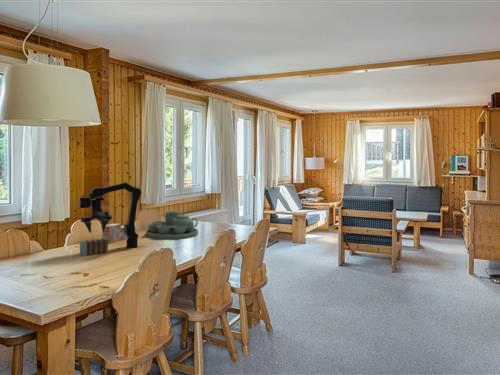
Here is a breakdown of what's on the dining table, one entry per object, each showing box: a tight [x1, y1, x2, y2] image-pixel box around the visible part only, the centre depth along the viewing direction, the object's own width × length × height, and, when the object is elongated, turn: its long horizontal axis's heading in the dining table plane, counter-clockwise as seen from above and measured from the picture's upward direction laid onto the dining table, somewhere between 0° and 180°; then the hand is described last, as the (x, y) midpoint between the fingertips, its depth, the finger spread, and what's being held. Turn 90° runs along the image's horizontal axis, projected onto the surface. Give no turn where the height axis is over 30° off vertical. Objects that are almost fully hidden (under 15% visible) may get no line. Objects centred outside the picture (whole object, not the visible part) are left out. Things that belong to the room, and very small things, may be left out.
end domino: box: [79, 241, 88, 257], centre depth 261 cm, size 2×5×8 cm, turn 52°
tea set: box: [145, 210, 199, 240], centre depth 336 cm, size 40×40×16 cm
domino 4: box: [100, 238, 109, 253], centre depth 272 cm, size 2×5×8 cm, turn 51°
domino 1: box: [84, 240, 93, 256], centre depth 263 cm, size 2×5×8 cm, turn 51°
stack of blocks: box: [101, 223, 128, 245], centre depth 308 cm, size 21×6×12 cm, turn 159°
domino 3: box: [95, 238, 104, 254], centre depth 269 cm, size 2×5×8 cm, turn 51°
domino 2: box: [90, 239, 99, 255], centre depth 266 cm, size 2×5×8 cm, turn 51°
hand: (96, 231), depth 276 cm, fingers open, 9 cm apart
